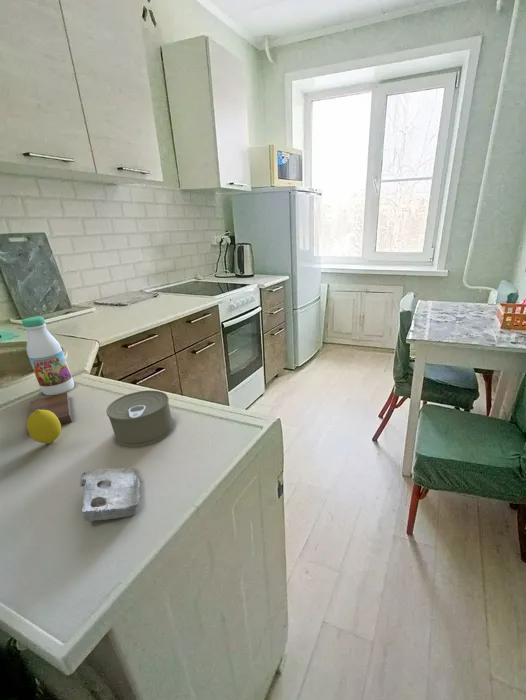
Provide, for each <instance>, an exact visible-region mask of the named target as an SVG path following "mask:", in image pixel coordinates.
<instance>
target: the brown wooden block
mask: <svg viewBox="0 0 526 700" xmlns="http://www.w3.org/2000/svg"><path fill="white" fill-rule="evenodd" d="M38 409H39V410H48V411H51V412H53V413H54V414H55V415H56V416H57V418H58V419H59V421H60V424H61V426H63V425H66V424H70V423H73V418H72V408H71V400H70V396H69V393H68V391H67V392H64V393H61V394H57V395H48V396H46V397H42V398H38V399H34V400H30V402H29V412H28V417H29V416H30V415H31V414H32V413H33V412H35V411H36V410H38Z"/></svg>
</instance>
